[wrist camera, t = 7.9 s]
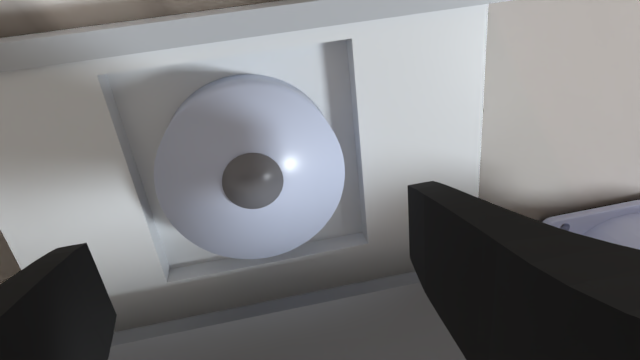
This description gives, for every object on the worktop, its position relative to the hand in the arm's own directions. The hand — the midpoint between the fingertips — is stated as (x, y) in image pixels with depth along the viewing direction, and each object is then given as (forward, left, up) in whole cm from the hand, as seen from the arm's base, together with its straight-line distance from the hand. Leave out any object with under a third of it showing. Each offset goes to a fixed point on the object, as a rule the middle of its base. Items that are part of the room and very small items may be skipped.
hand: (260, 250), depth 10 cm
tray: (0, 0, -7) cm, 7 cm away
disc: (0, 0, -5) cm, 5 cm away
